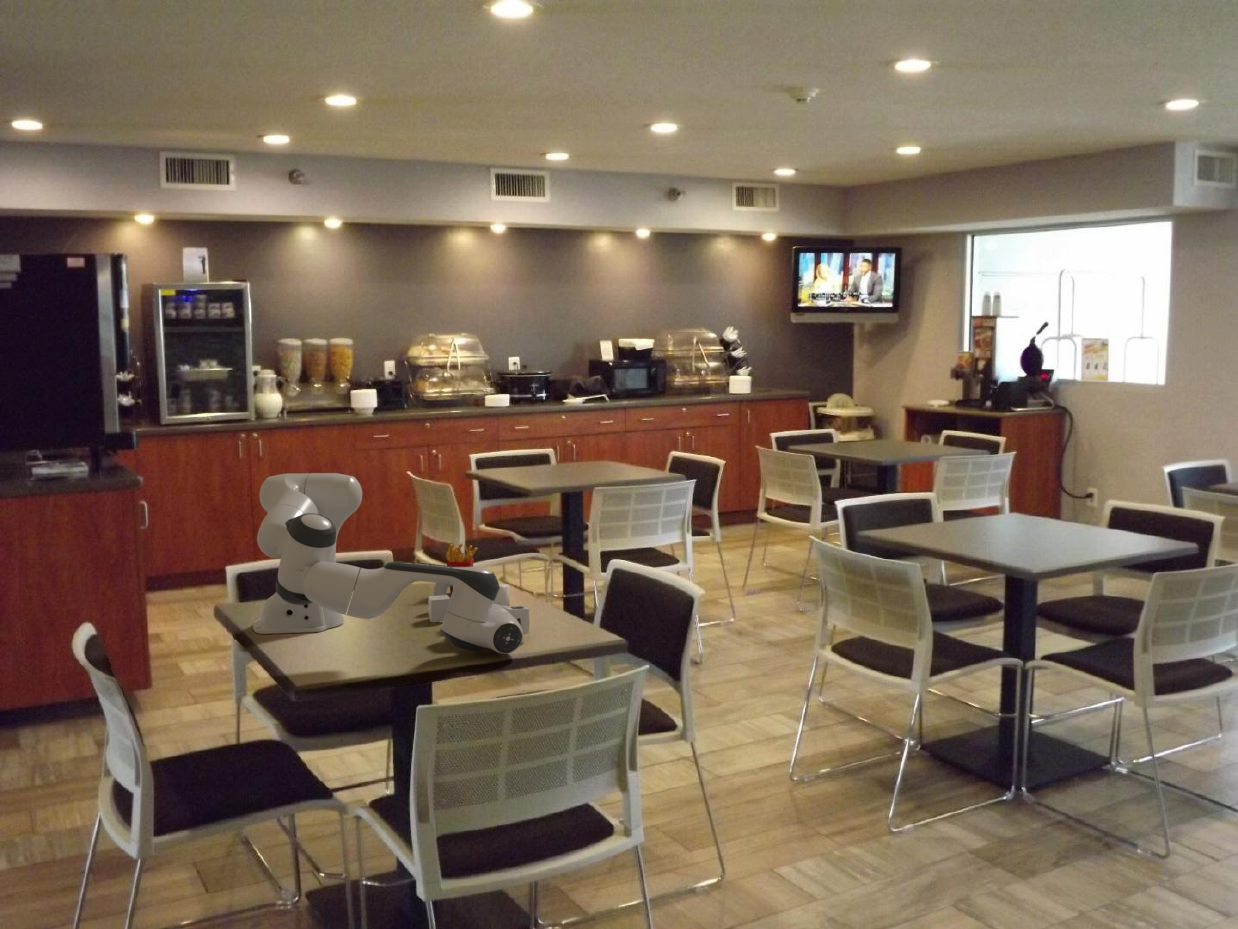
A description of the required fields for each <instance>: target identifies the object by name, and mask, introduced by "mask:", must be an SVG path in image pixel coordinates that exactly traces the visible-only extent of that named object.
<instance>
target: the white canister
mask: <svg viewBox="0 0 1238 929" xmlns="http://www.w3.org/2000/svg"><path fill="white" fill-rule="evenodd" d="M499 587H500V588H499V591H498V593H497V596H496V598H495V601H494V602H493V604H498V605H501V606H502V605H504V606H510V607H511V602H510V601H511V600H510V599H511V598H510V595H511V594H510V593H511V592H510V584H508V583H499Z"/></svg>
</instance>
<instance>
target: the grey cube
mask: <svg viewBox="0 0 1238 929" xmlns="http://www.w3.org/2000/svg"><path fill="white" fill-rule="evenodd" d="M449 597H450V596H449V595H448V594H447V595H441V596H434V595H429V596H428V597H427V598H428V604H427V605H428V619H430V620H431V621H430V620H429V621H430V623H431V622H439V623H441V622H440V621H443V620H444V617H445V613H446V610H447V608H448V605H449V602H450V598H451V597H450V598H449Z"/></svg>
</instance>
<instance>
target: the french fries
mask: <svg viewBox="0 0 1238 929" xmlns="http://www.w3.org/2000/svg"><path fill="white" fill-rule="evenodd" d="M462 547H464V549H465V551H466V554H465V553H464V552H463V551H462V550H461V549H462ZM471 549H472V550H471ZM477 551H478V547H474V548H473V545H472V544H471V545H469V547H467V545H464V543H463V542H461V543H460V544H459V545H458V547H455V546H454V544H453V543H451V544H449V546H448V550H447V551H446V554H445V559H446V560H447V561H446V566H456V567H474V560H475V559H474V554H475V553H476V552H477ZM449 591H450V592H449V593H450V596H451V595H452V592H453V585H452V586H449Z"/></svg>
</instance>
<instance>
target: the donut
mask: <svg viewBox="0 0 1238 929" xmlns="http://www.w3.org/2000/svg"><path fill="white" fill-rule="evenodd" d="M450 586H452V584H443V583H435V585H434V589H433V596H441V595H448V593H447V590H448V589H449V588H450ZM449 598H451V596H449Z"/></svg>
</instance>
